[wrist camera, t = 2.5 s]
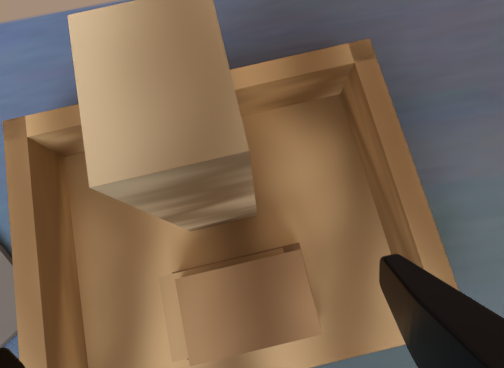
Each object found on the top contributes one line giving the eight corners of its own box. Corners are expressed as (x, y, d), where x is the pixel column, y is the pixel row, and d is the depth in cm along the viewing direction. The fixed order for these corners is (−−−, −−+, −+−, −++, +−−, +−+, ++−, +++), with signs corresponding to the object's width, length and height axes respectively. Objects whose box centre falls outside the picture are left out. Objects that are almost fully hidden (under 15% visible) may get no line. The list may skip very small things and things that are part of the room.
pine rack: (83, 416, 19) (26, 464, 15) (55, 149, 23) (2, 121, 18) (429, 331, 20) (480, 352, 15) (348, 82, 23) (369, 38, 19)
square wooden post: (190, 231, 20) (89, 187, 8) (175, 151, 21) (67, 15, 10) (257, 215, 20) (249, 150, 8) (238, 137, 21) (209, -16, 10)
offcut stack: (184, 355, 19) (166, 377, 15) (170, 273, 20) (150, 275, 16) (317, 323, 19) (330, 337, 15) (297, 243, 20) (304, 239, 16)
